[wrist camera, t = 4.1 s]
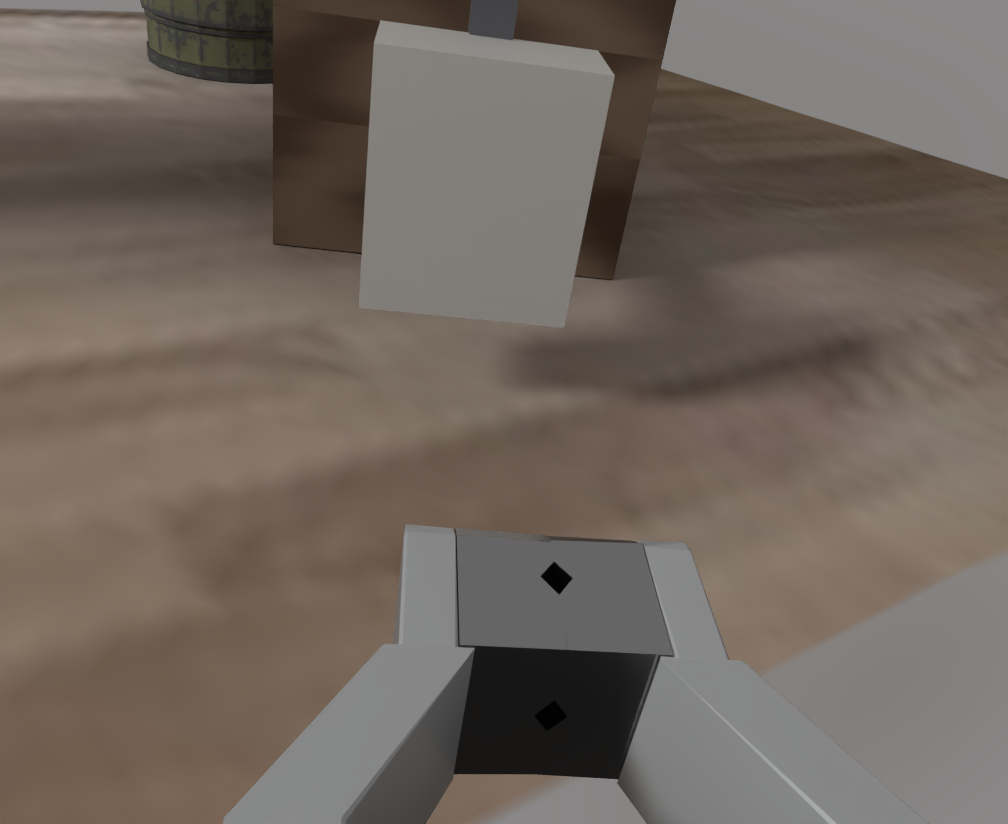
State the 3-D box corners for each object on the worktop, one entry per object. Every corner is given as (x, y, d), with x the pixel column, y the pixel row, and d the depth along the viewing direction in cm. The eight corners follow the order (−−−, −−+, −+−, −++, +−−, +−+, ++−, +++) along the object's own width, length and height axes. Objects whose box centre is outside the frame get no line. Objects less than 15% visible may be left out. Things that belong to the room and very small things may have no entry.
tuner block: (273, 243, 31) (272, -181, 24) (314, 138, 41) (322, -182, 34) (612, 279, 32) (701, -110, 25) (571, 170, 42) (627, -131, 35)
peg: (358, 307, 21) (389, -233, 16) (389, 118, 34) (412, -211, 29) (563, 328, 22) (667, -185, 16) (517, 134, 35) (564, -184, 29)
